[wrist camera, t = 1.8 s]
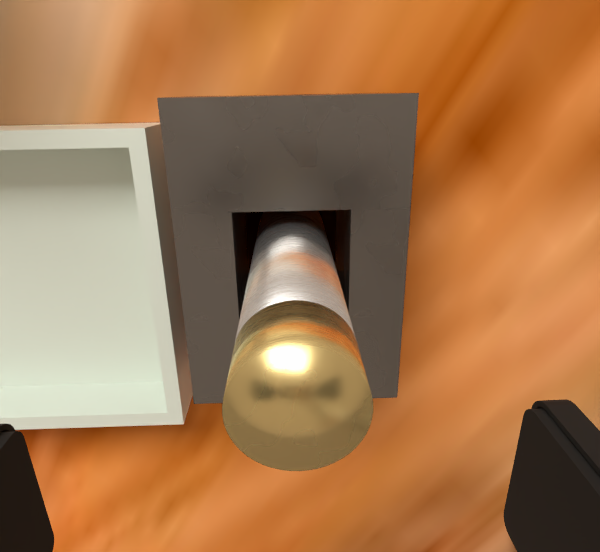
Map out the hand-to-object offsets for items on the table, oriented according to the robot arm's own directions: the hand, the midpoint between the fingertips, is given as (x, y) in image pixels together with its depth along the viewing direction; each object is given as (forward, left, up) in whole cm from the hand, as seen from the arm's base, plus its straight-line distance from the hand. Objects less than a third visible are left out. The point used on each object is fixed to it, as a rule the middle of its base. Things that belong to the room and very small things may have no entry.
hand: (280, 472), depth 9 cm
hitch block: (0, 0, -18) cm, 18 cm away
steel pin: (0, 0, -18) cm, 18 cm away
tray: (-2, +14, -18) cm, 23 cm away
